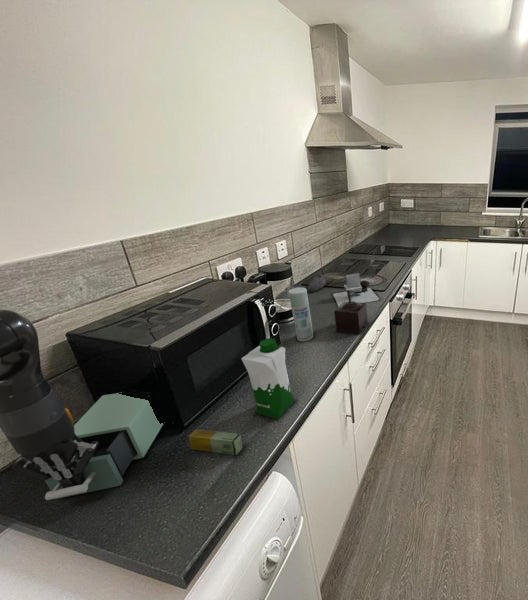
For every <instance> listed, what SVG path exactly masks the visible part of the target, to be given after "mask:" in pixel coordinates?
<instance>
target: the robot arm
mask: <svg viewBox="0 0 528 600" xmlns="http://www.w3.org/2000/svg"><path fill="white" fill-rule="evenodd" d="M41 363H42V362H41V355H40V344H39V335H38V332H37V329H36V326H35V325H34V324H33V322H32V321H31V319H29V318H28V317H27V316H26V315H24V314H22V313H20V312H19V311H15V310H13V309H0V430H1V431H2V433H3V435H4V436H5V437H6V439H7V441H8V442H9V443H10V445H11V446H12V448H13V449H14V451H15V452H16V453H17V454H18V455H20V457H19V458H18V459H17V460H16V461H15V462H14V463H13V464H12V465H11V466H10V468H11V469H12V470H14V471H16V472H19V473H22V474H25V475H27V476H29V477H33V478H36V479H38V480H41V481H45V480H48V479H49V478H53V479H54V480H57V481H59V482H60V484H61V486H62V487H63V488H67V487H72V486H77V485H82V484H83V483H84V482H85V478H84V476H83V474H82V473H81V472H82V471H83V469H84V468H85V467H86V465H87V464H88V463H89V461H90V460H91V458H92V456H93V454H94V453H95V451H96V449H97V447H98V445H99V442H97V441H93V442H92V443H91V444H88V443H84V442H82V439H81V438H80V437H78V436H77V435H76V434H75V432H74V424H73V422H72V421H71V419H70V417H69V415H68V413H67V412H66V410H65V408H66V407H65V406H64V405H63V403H62V400H61V399H60V397H59V396H58V395H57V394H56V393H55V391H54V390H53V388H52V387H51V385H50V384H49V382H48V380H47V378H46V376H45V375H44V373H43V371H42V365H41ZM78 450H79V454H80V455H79V457H81V459H80V460H79V462H78V459H77V458H78V454H77V451H78ZM39 469H42V470H43V471H44V472H45V473H44V472H42V471H40V470H39Z"/></svg>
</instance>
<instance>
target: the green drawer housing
mask: <svg viewBox="0 0 528 600" xmlns="http://www.w3.org/2000/svg"><path fill="white" fill-rule="evenodd" d="M119 393H120V392H116V393H110V394H104V395H102V396H100V397H99V399H97V401H96V402H94V404H93V405H92V406H91V407H90V408H89V409H88V410H87V411H86V412H85V413H84V414H83V415H82V416H81V417H80V419H78V421H77V422H76V423H75V425H74V432H75V434H76V435H77V436H78V437H80V438H83V437H88V436H94V435H99V434H105V433H110V432H116V431H122V430H127V432H128V434H129V437H130V439H131V441H132V443H133V445H134V447H135V449H136V451H137V453H136V455H135V456H134V458H133V460H132V461H134V460H138V459H144V457H146V454H147V453H148V451H149V449H150V448H151V446H152V444H153V442H154V441H155V439H156V437H157V436H158V434H159V433H160V431H161V429H162V427H163V426H164V424H163V423H161V424H160V423H159V421H158V420H157V418H156V416H155V414H154V412H153V409H152V407H151V406H150V403H149V401H148V400H145V399H140V398H134V397H130V396H126V395H122V394H119Z"/></svg>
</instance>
